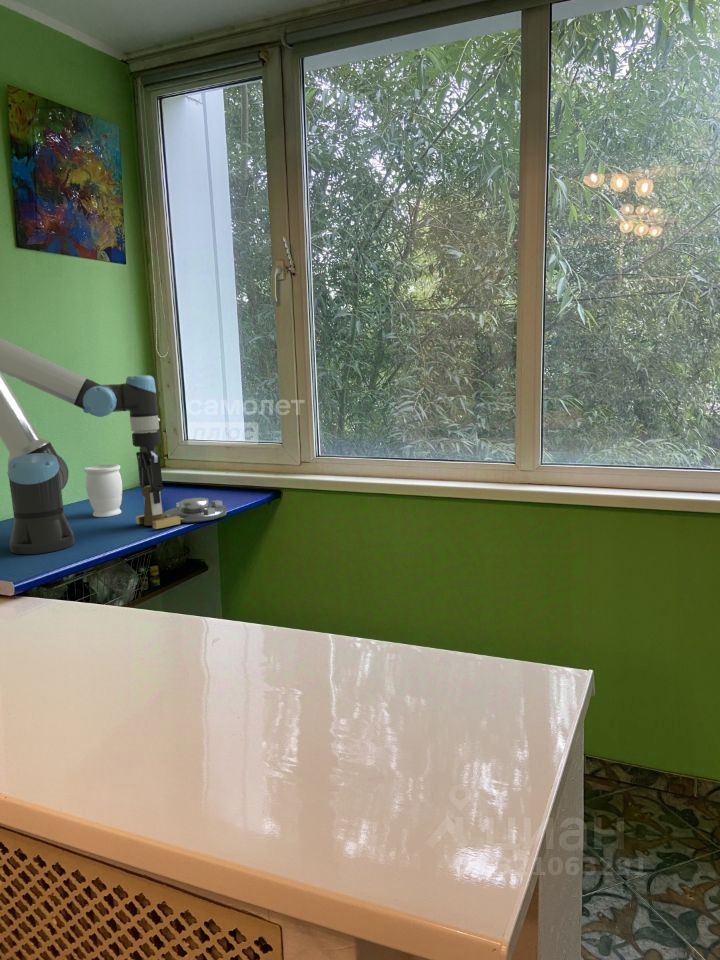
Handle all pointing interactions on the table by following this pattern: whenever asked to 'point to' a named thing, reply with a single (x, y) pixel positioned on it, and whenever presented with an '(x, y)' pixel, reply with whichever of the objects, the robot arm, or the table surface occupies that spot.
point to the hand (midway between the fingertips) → (153, 512)
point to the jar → (104, 489)
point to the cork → (149, 508)
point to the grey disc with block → (189, 512)
